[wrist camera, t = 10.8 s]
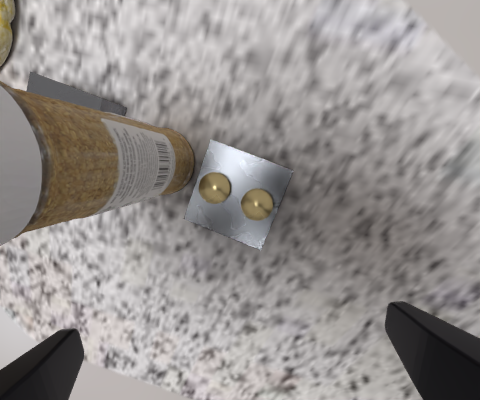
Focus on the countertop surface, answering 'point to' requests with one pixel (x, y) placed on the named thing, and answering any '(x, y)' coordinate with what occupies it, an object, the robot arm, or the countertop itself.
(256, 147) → the countertop surface
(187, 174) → the sprinkles bottle
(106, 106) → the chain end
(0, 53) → the bread roll
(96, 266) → the countertop surface
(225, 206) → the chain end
